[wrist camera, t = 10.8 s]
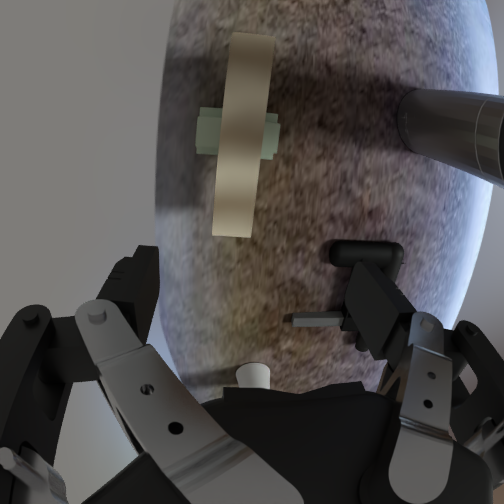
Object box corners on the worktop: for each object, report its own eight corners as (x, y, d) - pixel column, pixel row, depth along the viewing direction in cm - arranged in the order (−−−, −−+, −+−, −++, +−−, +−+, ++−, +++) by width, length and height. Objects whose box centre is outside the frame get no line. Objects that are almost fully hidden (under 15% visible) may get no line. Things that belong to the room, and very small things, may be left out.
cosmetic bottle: (266, 359, 47) (288, 478, 28) (272, 379, 50) (292, 487, 31) (232, 365, 47) (241, 485, 28) (239, 385, 50) (250, 494, 31)
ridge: (202, 107, 29) (198, 106, 25) (274, 113, 30) (281, 114, 26) (198, 150, 31) (194, 156, 27) (268, 156, 32) (275, 163, 28)
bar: (231, 43, 22) (232, 31, 18) (267, 47, 23) (275, 37, 19) (213, 217, 30) (212, 235, 26) (246, 219, 31) (250, 237, 27)
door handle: (287, 356, 45) (377, 351, 45) (308, 243, 36) (415, 248, 36) (285, 342, 48) (371, 339, 48) (303, 232, 38) (405, 238, 39)
